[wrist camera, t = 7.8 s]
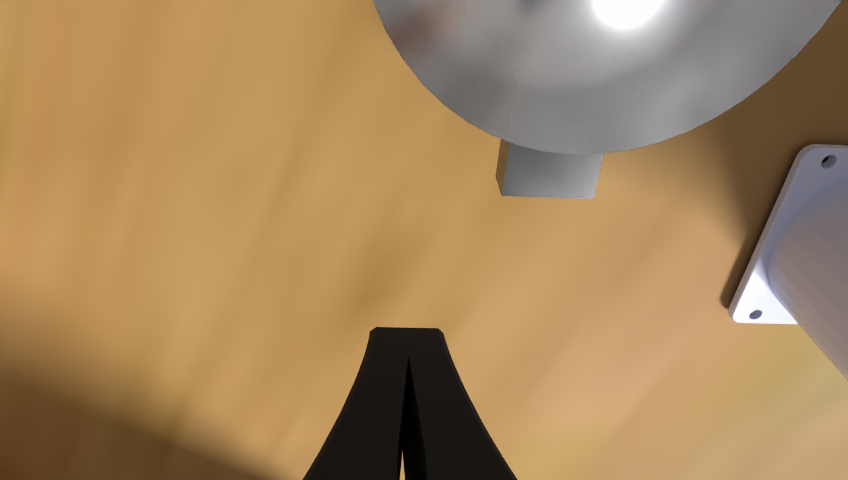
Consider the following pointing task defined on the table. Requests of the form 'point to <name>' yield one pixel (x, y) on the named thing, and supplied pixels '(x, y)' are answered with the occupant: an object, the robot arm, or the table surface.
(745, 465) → the table surface
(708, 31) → the lid
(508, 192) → the pot
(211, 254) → the table surface
